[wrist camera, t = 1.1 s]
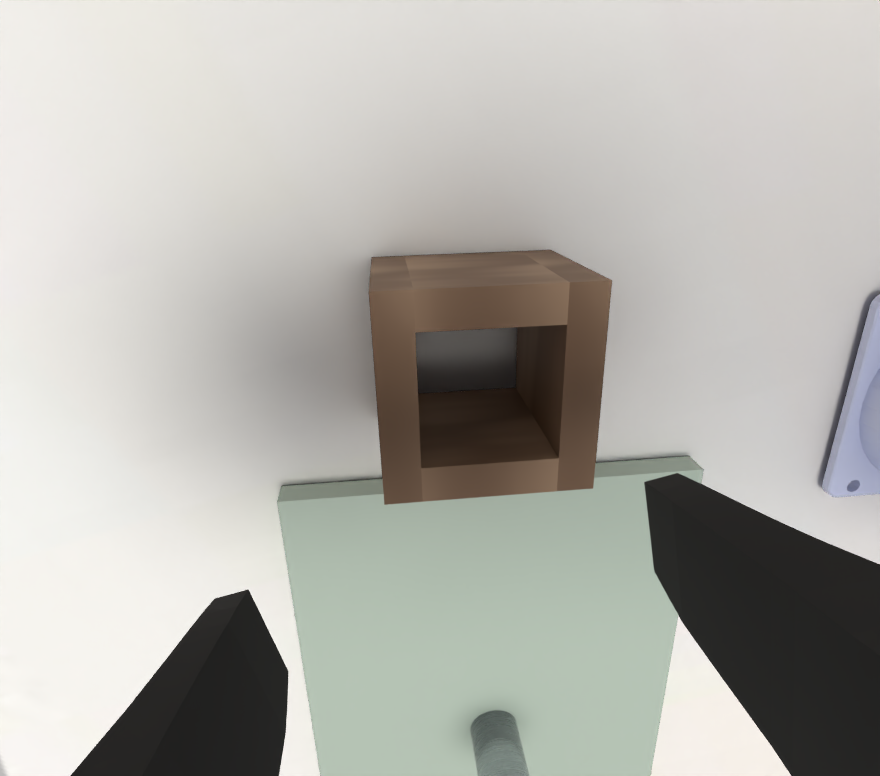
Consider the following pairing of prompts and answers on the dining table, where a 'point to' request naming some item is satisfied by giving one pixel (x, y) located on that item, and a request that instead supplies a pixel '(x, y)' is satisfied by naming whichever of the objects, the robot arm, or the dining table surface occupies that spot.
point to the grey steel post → (498, 745)
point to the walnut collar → (491, 410)
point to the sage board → (482, 624)
